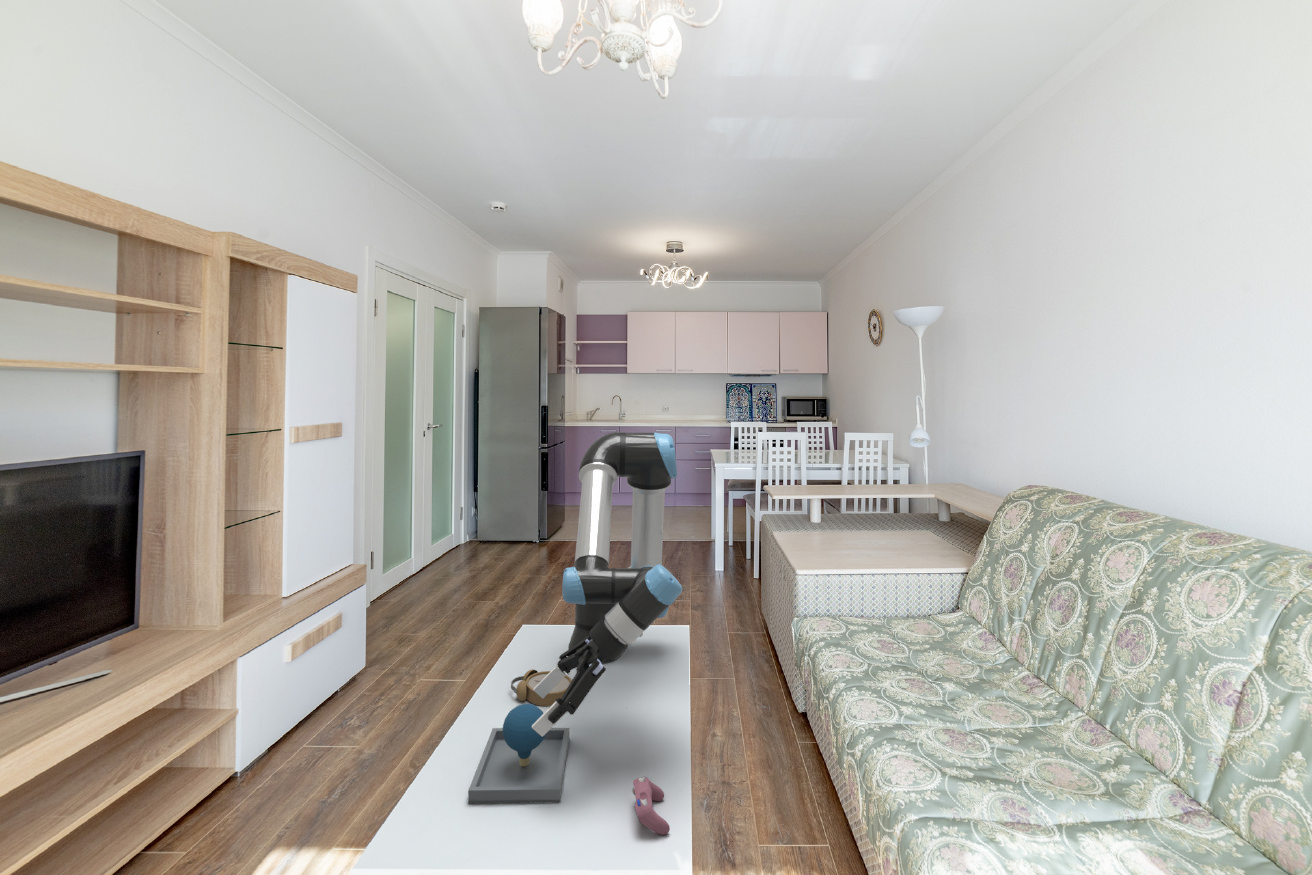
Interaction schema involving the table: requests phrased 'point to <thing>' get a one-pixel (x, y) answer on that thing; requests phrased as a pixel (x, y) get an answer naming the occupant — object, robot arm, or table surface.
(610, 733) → the table surface
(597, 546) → the robot arm
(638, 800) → the video game controller
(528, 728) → the light bulb
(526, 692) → the alarm clock
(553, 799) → the tray
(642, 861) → the table surface
